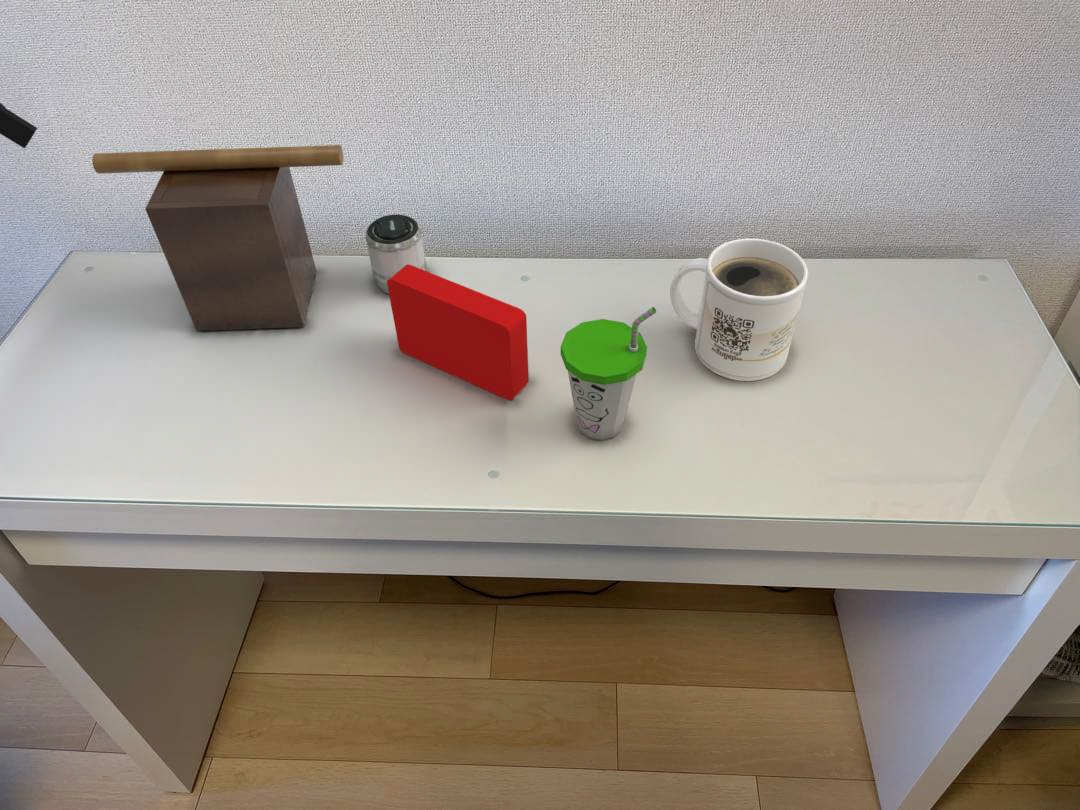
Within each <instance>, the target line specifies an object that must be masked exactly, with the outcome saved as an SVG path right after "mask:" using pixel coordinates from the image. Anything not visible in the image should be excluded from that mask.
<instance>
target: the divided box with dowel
mask: <svg viewBox="0 0 1080 810" xmlns="http://www.w3.org/2000/svg"><path fill="white" fill-rule="evenodd" d="M91 162H92V168H93V169H94V171H95V173H97V174H99V175H101V174H103V175H104V174H132V173H158V172H159V173H160V172H162V174H161V176H160V178H159V179H158V182H157V184H156V186H155V188H154V190H153V192H152V194H151V195H150V198H149V200H148V201H147V204H146V206H145V208H144V209H145V212H146V214H147V217H148V219H149V222H150V224H151V226H152V228H153V231H154V234H155V236H156V239H157V240H158V243H159V246H160V248H161V250H162V252H163V255H164V257H165V261H166V262H167V264H168V267H169V269H170V272H171V274H172V276H173V279H174V281H175V283H176V287H177V288H178V291H179V293H180V295H181V298H182V301H183V302H184V305H185V307H186V310H187V312H188V315H189V317H190V319H191V322H192V324H193V326H194V327H193V328H194V329H195V331H197V332H198V331H201V332H202V331H225V330H226V331H228V330H229V331H230V330H253V329H254V330H255V329H280V328H283V329H285V328H304V327H305V324H306V319H307V314H308V310H309V306H310V303H311V302H310V301H311V297H312V293H313V288H314V283H315V280H316V275H317V266H316V264H315V260H314V256H313V252H312V248H311V244H310V240H309V237H308V232H307V229H306V225H305V222H304V218H303V213H302V209H301V206H300V202H299V199H298V194H297V191H296V186H295V182H294V180H293V176H292V175H293V174H292V171H291V168H301V167H303V168H304V167H305V168H307V167H330V166H331V167H333V166H334V167H335V166H343V165H344V151H343V147H342V145H341V144H328V145H303V146H302V145H301V146H297V145H296V146H271V147H270V146H269V147H268V146H267V147H240V148H238V147H237V148H212V149H184V150H157V151H156V150H155V151H152V150H151V151H126V152H123V151H122V152H98V153H96V152H95V153H94V154H92V159H91Z"/></svg>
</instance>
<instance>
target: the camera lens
mask: <svg viewBox="0 0 1080 810" xmlns="http://www.w3.org/2000/svg"><path fill="white" fill-rule="evenodd" d="M422 232H423V231H422V227H421V225H420V224H419V223H418V221H416V220H415V219H414V218H412V217H410V216H408V215H405V214H404V215H403V214H388V215H387V214H386V215H384V216H381V217H379V218H377V219H375V220H374V221H372V222H371V223H370V224H369V225H368V227H367V228H366V231H365V236H364V237H365V241H366V246H367V251H368V255H369V260H370V266H371V271H372V274H373V277H374V279H375V282H376V283H377V286H378V289H380V290H381V291H382V292H383V293H385V294H387V295H389V291H388V285H387V280H389V279H390V278H391V277H392V276H393V275H395V274H396V273H397V272H398V271H399V270H401V269H402V268H403V267H404V266H405V265H412V266H415V267H417V268H420V269H422V270H425V271H427V261H426V254H425V248H424V247H425V246H424V239H423V233H422Z"/></svg>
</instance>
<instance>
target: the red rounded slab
mask: <svg viewBox="0 0 1080 810" xmlns="http://www.w3.org/2000/svg"><path fill="white" fill-rule="evenodd" d="M387 285H388V291H389V294H388V296H389V301H390V306H391V307H390V308H391V311H392V317H393V323H394V329H395V335H396V339H397V344H398V349H399V350H400V351H401V352H402V353H404V354H405V355H407V356H409V357H412V358H414V359H416V360H418V361H420V362H423V363H425V364H427V365H429V366H432V367H433V368H436V369H438V370H440V371H442V372H445V373H447V374H449V375H451V376H453V377H456V378H458V379H460V380H463V381H465V382H466V383H469V384H471V385H474V386H476V387H478V388H480V389H482V390H484V391H487V392H488V393H491V394H493V395H496V396H498V397H500V398H502V399H505V400H507V401H513V400H514V399H515V398H516V397H517V396H518V395H519V393H520V392H521V391H522V390H523V389H524V388H525V387H526V386H527V385H528V384H529V382H530V375H529V353H528V352H529V351H528V349H529V347H528V323H527V313H526V312H525V311H524V310H523V309H521V308H519V307H518V306H515V305H512V304H510V303H507V302H504V301H502V300H499V299H498V298H494V297H492V296H490V295H488V294H484V293H482V292H479V291H477V290H475V289H473V288H470V287H467V286H465V285H462V284H460V283H457V282H455V281H452V280H449V279H447V278H445V277H442V276H439V275H437V274H434V273H432V272H430V271H427V270H426V271H425V270H422V269H420V268H417V267H415V266H412V265H405V266H404V267H403V268H402V269H401V270H399V271H398V272H397V273H396V274H395V275H393V276H392V277H391V278H390V279H389V280H387Z"/></svg>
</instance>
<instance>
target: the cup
mask: <svg viewBox="0 0 1080 810" xmlns="http://www.w3.org/2000/svg"><path fill="white" fill-rule="evenodd" d="M656 309H657V308H655V307H654V306H652V307H651V308H649V309H648V310H646V311H645V312H643V313H641V315H640V316H638V317H637V318H635V319H634V320H633V322H632V324H631V325H628V324H627V323H626V322H622V321H617V320H611V319H606V318H600V319H594V320H589V321H582V322H581V323H579V324H578V325H576V326H574V327H573V328H571V329H570V330H568V331H567V332H566V333H565V334H564V338H563V340H562V341H561V342H562V343H561V345H560V357H561V360H562V362H563V365H564V367H565V370H566V371H567V375H568V380H569V381H568V382H569V386H570V392H571V398H572V404H573V409H574V414H575V420H576V425H577V427H578V430H579V433H580V434H581V435H583V436H585V437H586V438H587V439H589V440H593V441H599V442H603V441H608V440H613V439H614V438H615V437H618V435H620V434H621V432H622V430H623V427H624V422H625V419H626V415H627V412H628V408H629V404H630V401H631V397H632V393H633V390H634V387H635V383H636V379H637V376H638V373H640V372H641V371H642V370H643V369H644V365H645V361H646V358H647V354H648V346H647V344H646V342H645V339H644V338H643V335H642V334H641V332H640V331H639V326H640V325H641V324H642V323H643V322H645V321H646V320H647V319H649V318H650V317H652V316H654V315H655V314H656V313H657V310H656Z"/></svg>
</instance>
